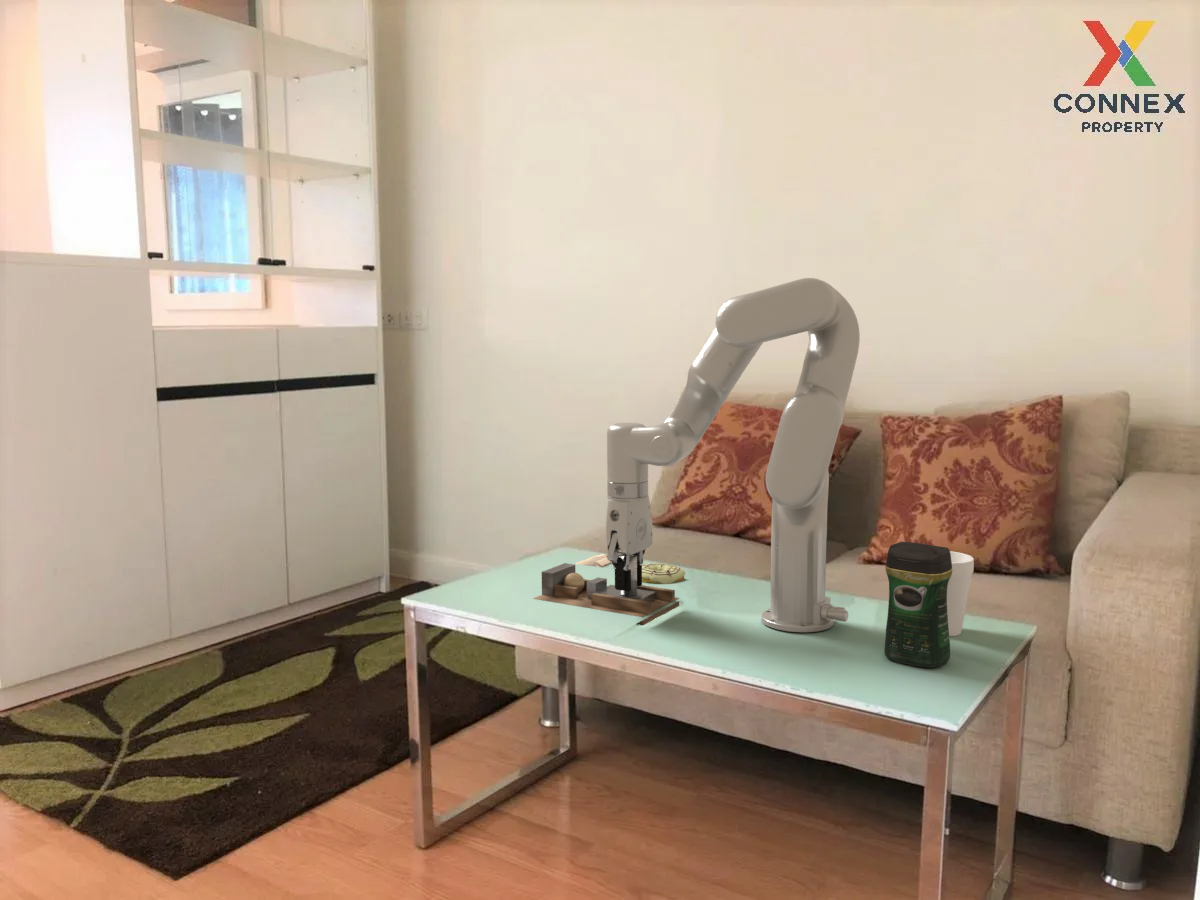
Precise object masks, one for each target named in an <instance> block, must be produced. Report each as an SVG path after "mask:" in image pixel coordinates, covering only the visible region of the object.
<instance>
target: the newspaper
mask: <svg viewBox="0 0 1200 900" xmlns="http://www.w3.org/2000/svg"><path fill="white" fill-rule="evenodd" d="M607 554H608V553H607ZM607 554H604V553H602V554H597V555H594V556H590V557H589V558H585V559H583V560H580V561H578V562H575V563H574V565H581V566H582V565H583V566H589V567H595V568H603V567H606V566H608V565H611V564H612V562H611V561H609V560H608V559H607ZM610 563H611V564H610ZM605 565H606V566H605Z"/></svg>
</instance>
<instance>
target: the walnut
mask: <svg viewBox="0 0 1200 900" xmlns="http://www.w3.org/2000/svg"><path fill="white" fill-rule="evenodd" d="M584 579H585V578H584V577H583V575H581V574H580V573H578V572H575V573H570V574H568V575H567V576H566V577H565V579H564V586H571V587H577V588H578V593H579V592H580V591H581V590H582V589H583V587H584Z"/></svg>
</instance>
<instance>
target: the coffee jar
mask: <svg viewBox="0 0 1200 900" xmlns="http://www.w3.org/2000/svg"><path fill="white" fill-rule="evenodd" d="M886 555H887V556H886V563H885V573H886V575H887V578H888V607H887V608H888V609H887V617H886V625H885V635H884V642H883V645H884V647H883V654H884V656H885V657H886V658H887V659H889V660H890V661H894V662H898V663H900V664H901V663H902V664H904V665H905V664H906V665H910V666H915V667H922V668H933V667H941V666H943V665H945V664H946V663H947V662H948V661H949V660H950V659H951V644H950V642H951V640H950V636H949V628H948V615H947V586H948V582H949V579H950V577H951V575H952V562H951V554H950V548H948V547H947V546H946V547H945V546H939V545H932V544H928V543H927V544H925V543H921V542H920V543H918V542H910V541H899V542H896V543H894V544H891V545H890V546H889V547H888V551H887V554H886Z"/></svg>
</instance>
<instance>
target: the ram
mask: <svg viewBox="0 0 1200 900" xmlns="http://www.w3.org/2000/svg"><path fill="white" fill-rule="evenodd" d="M619 557H621V558H622V559H623V561H624V556H619ZM629 570H631V590H630V591H622V590H616V589H615V584H609V585H608V580H607V578H604V577H596V578H594V579H591V581H588V582H587V598H591V594H593V593H599V594H605V595H612V596H618V597H624V598H631V599H637V600H643V601H650V602H652V601H654V600H656V592H655V591H649V590H642V589H637V556H636V555H630V559H629Z"/></svg>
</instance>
